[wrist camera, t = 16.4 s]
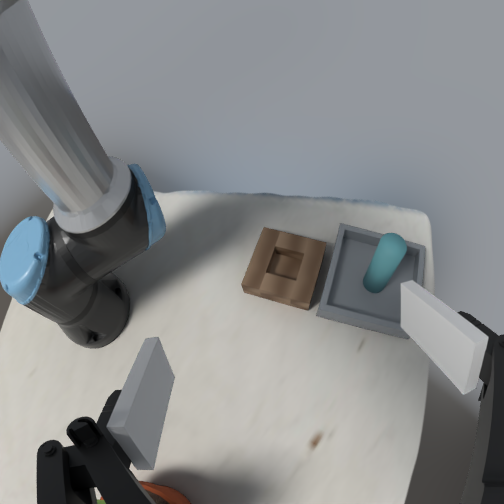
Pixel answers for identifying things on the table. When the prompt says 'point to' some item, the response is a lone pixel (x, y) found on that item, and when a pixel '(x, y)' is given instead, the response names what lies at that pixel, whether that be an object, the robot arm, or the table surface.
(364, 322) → the tray
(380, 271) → the ball
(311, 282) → the hole block
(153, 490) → the potted plant
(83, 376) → the table surface
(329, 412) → the table surface
